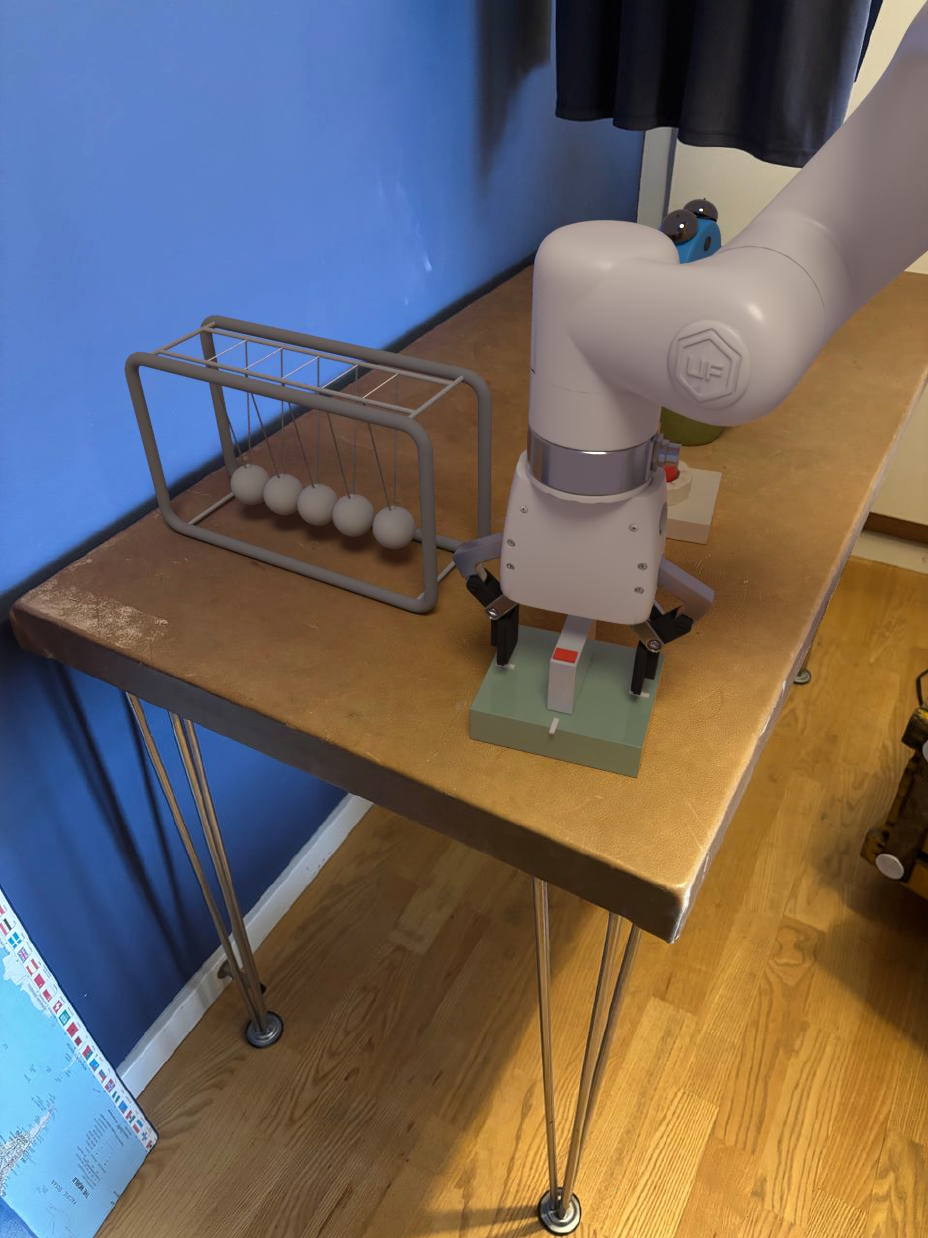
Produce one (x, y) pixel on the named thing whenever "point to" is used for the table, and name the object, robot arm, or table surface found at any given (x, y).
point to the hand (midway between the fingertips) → (571, 667)
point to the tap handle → (570, 663)
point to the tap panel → (602, 717)
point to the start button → (670, 473)
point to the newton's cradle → (317, 499)
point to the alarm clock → (693, 230)
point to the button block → (691, 503)
